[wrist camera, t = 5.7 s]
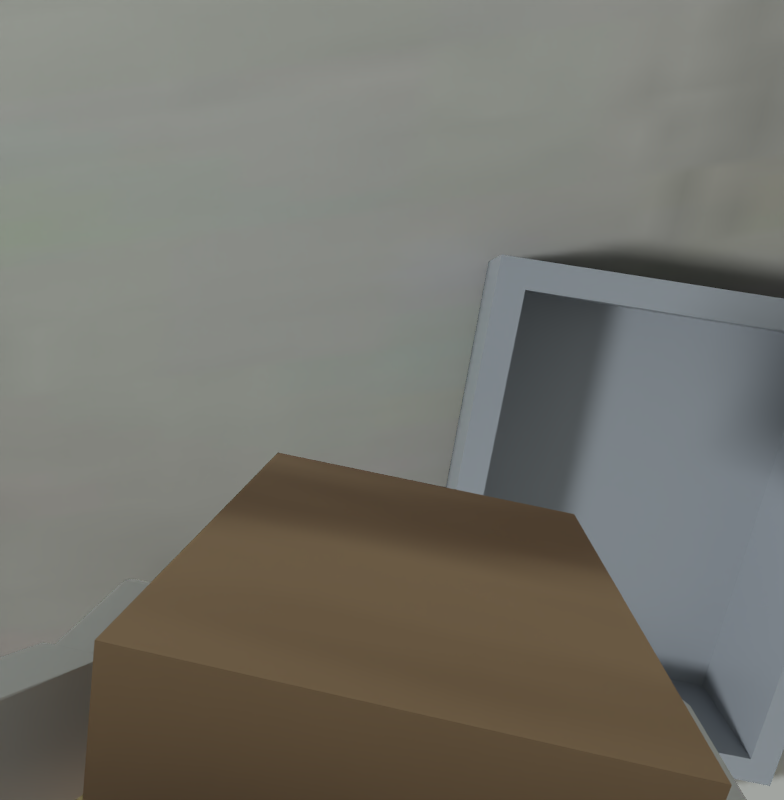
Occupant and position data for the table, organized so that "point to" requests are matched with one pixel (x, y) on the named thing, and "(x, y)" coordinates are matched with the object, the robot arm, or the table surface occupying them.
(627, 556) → the tote
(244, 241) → the table surface
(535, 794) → the tan cube
